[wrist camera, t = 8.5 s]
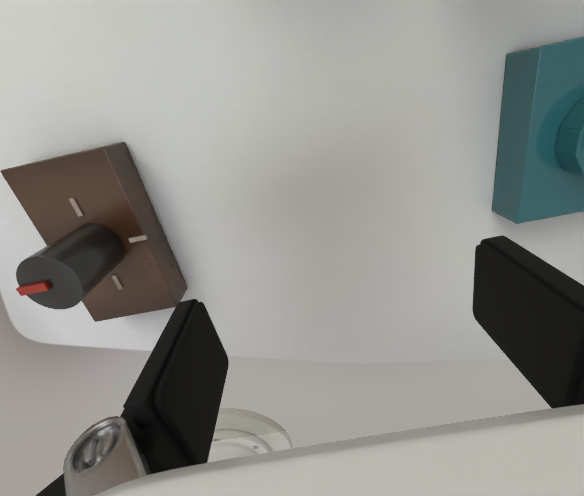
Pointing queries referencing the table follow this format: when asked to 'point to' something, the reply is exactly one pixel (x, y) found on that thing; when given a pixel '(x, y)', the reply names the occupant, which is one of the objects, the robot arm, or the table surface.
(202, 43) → the table surface
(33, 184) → the panel
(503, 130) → the teal push button box
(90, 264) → the dial
